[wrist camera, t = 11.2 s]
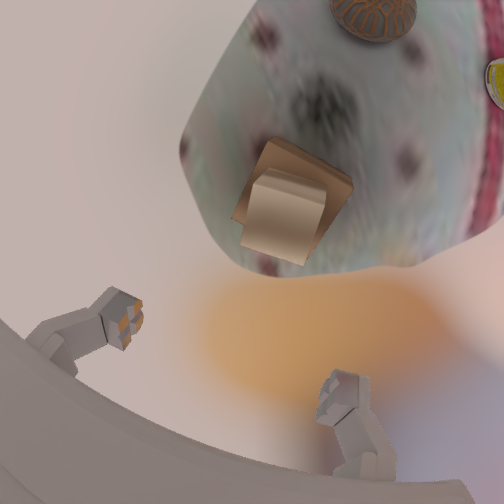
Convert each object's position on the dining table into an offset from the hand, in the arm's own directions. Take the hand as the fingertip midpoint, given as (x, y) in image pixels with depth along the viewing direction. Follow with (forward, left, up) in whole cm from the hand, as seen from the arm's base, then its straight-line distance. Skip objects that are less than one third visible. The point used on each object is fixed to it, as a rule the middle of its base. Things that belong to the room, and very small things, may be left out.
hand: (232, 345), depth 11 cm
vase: (-19, +2, -20) cm, 28 cm away
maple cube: (0, 0, -16) cm, 16 cm away
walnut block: (0, 0, -20) cm, 20 cm away
